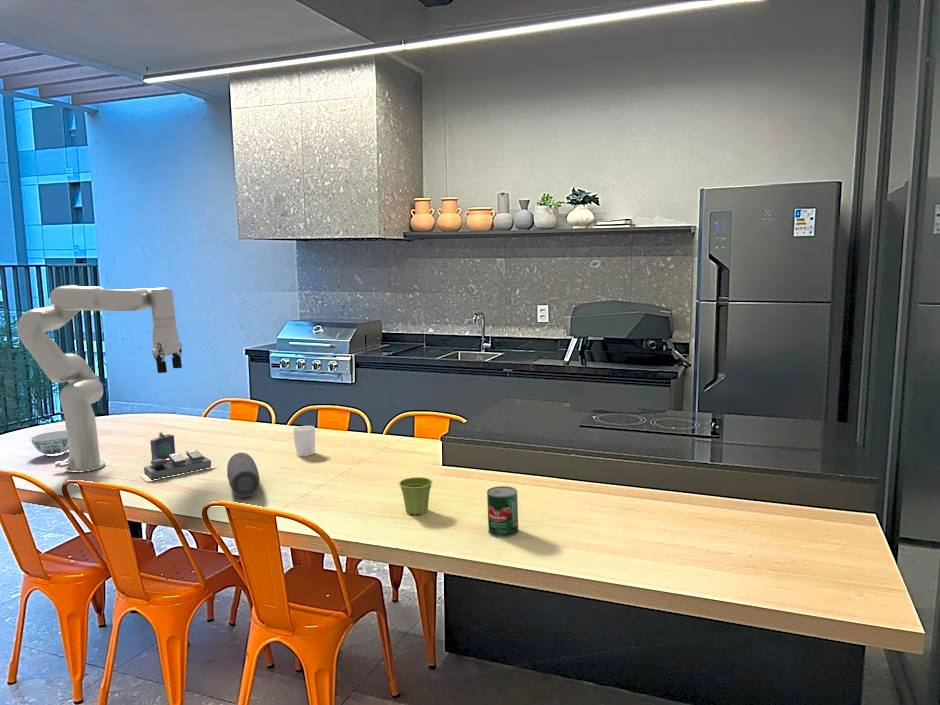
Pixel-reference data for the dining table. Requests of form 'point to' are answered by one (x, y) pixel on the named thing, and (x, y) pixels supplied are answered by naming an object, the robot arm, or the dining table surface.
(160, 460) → the rocker left
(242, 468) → the bluetooth speaker
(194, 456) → the rocker right
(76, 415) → the robot arm
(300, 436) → the white cup
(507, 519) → the canned tomato
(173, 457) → the rocker middle
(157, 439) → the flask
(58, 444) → the chinaware
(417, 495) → the plant pot
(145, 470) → the power strip
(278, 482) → the dining table surface
